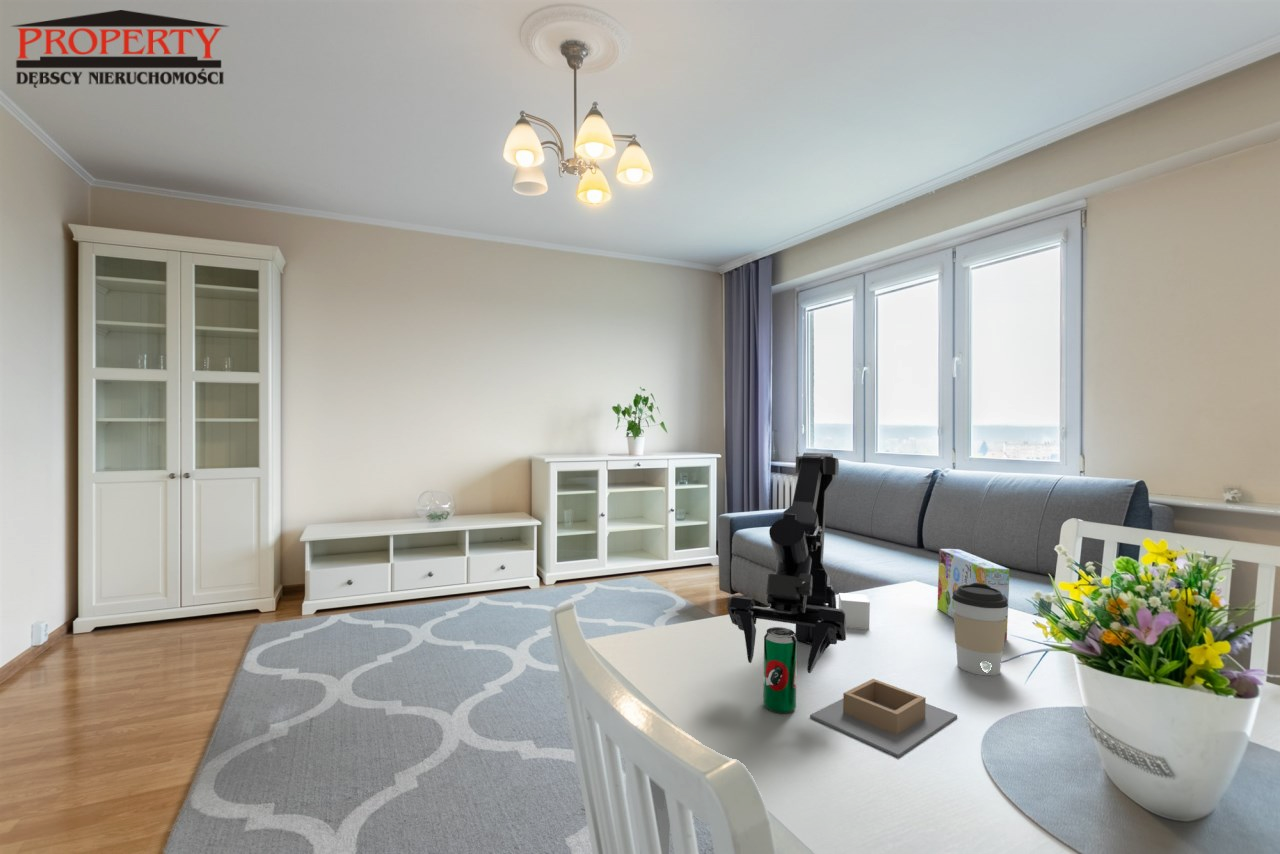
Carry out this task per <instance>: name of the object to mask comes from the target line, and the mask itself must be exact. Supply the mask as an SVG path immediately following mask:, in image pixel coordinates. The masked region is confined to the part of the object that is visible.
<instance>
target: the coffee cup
mask: <svg viewBox="0 0 1280 854" xmlns="http://www.w3.org/2000/svg"><path fill="white" fill-rule="evenodd" d="M952 599H953V600H954V610H953V614H954V619H953V627H954V641H955V646H956V648H955V649H956V661H957V667H958V668H959V669H961V670H964V671H965V672H968V673H970V674H975V675H980V676H987V675H993V676H997V675H1000V673H1001V667H1002V655H1003V654H1002V653H1003V652H1004V648H1005V639H1004V638H1005V628H1006V607H1007V606H1008V607H1009V598H1008V599H1007V598H1006V597H1005V596H1003V595H1002V594H1001V592H1000V591H999V590H997V589H994V588H991V587H990V586H988V585H986V584H980V583H973V584H970V585H961V586H959V588H958V590H955V591H953V596H952ZM1007 601H1008V603H1007ZM982 661H987V662H989V663H991V664H992V667H991V670H990V671H989V672H988V673H986V672H984V671H983V670H982V668H981V666H980V663H981V662H982ZM1000 662H1001V664H1000Z"/></svg>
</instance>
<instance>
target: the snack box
mask: <svg viewBox="0 0 1280 854" xmlns="http://www.w3.org/2000/svg"><path fill="white" fill-rule="evenodd" d="M937 573H938V580H937V609H938V610H940V611H941V612H942V613H944V614H945V615H947V616H948V617H950V618H952V619H953V620H954V614H953V610H954V600H953V599H952V596H953V591H955V590H958V588H959V586H961V585H970V584H973V583H980V584H986V585H988V586H990V587H991V588H994V589H997V590H999V591H1000V592H1001V594H1002V595H1003V596H1005V597H1006V598H1007V599H1008V601H1007V603H1008V604H1009V594H1010V593H1009V591H1010V568H1008V567H1005V566H1002V565H1000V564H997V563H996V562H992V561H990V560H988V559H985V558H982V557H980V556H978V555H974V554H971V553H970V552H966V551H965V550H961V549H960V548H955V549H954V548H939V549H938V572H937ZM1008 617H1009V605H1008V606H1007V607H1006V628H1005V638H1004V640H1007V639H1008V637H1007V636H1008V620H1009V619H1008Z"/></svg>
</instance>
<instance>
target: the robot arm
mask: <svg viewBox="0 0 1280 854" xmlns="http://www.w3.org/2000/svg"><path fill="white" fill-rule="evenodd" d="M839 466H840V465H839V458H838V457H834V455H833V453H831V452H827V453H826V452H825V453H824V452H823V453H822V452H803V454H802V455H800V456H795V470H794V471H795V474H797V479H796V480H797V481H796V485H795V489H794V494H793V499H792V503H791V506H789V507H788V508H786V509H785V510H784V511H783V513H782V517H781V519H778V520H776V521H774V523H773V524H771V526H770V527H769V530H768V531H769V532H768V533H769V538H770V542H771V546H772V550H773V555H774V557H775V559H776V560H777V564H776V569H775V573H769V574H767V583H766V591H765V592H766V595H767V597H766V601H767V604H769V607H764V606H758V605H757V606H756V603H755V600H754V599H755V598H754V597H750V596H744V595H743V596H741V595H735V594H733V595H732V596H731V597H730V598H729V599H728V602H727V607H726V609H727V612H728V615H729V617H730V621H731V624H733V625H734V626H737V627H738V630H740V631H743V635H744V639H745V640H744V641H745V647H746V649H745V650H746V655H747V661H748V663H750V664H751V663H752V662H753V658H754V653H755V646H756V645H755V643H756V637H757V636H756V635H757V628H756V624H757V619H759V620H765V621H766V620H767V621H772V622H781V623H785V624H786V623H787V624H795V632H794V633H795V635H794V636H795V637H796V639H797V641H800V642H803V643H805V644H809V645H811V647H810V651H809V654H808V655H809V656H808V658H807V674H811V673H812V671H813V669H814V668H815V667H816V665H817V664H818V661H819V660H820V658H821V657H822V655H823V654H824V652H825V651H826V650H827V649H828V648H829V647H830V646H831V645H836V644H838V641H841V642H844V641H846V640H847V628H848V627H847V625H846V615H845V613H844V611H843V610H842V609H839V608H837V597H836V592H835V590H834V587H833V584H831V576H830V575H829V573H828V571H827V568H826V567H825V565H824V550H825V549H824V546H825V533H826V530H825V529H826V511H827V495H828V493H829V492H830V491H831V490H832V488H833V487H834V485H835V482H836V476H838V474H839Z"/></svg>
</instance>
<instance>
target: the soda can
mask: <svg viewBox="0 0 1280 854" xmlns="http://www.w3.org/2000/svg"><path fill="white" fill-rule="evenodd" d="M795 633H796V632H795V631H794V630H792V629H790V628H787V627H781V626H780V627H779V626H777V627H776V626H775V627H769V628H767V629H766V633H765V635H764V636H763V683H762V684H763V690H762V691H763V694H762V696H763V697H762V700H763V701H762V703H763V705H764V706H765V708H766V709H768V711H771V712H773V713H777V714H789V713H791V712H793V710H795V708H796V707H797V662H798V660H797V659H798V656H797V654H798V652H797V650H798V649H797V647H798V640H797V639H796V637H795V636H794V635H795Z"/></svg>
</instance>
